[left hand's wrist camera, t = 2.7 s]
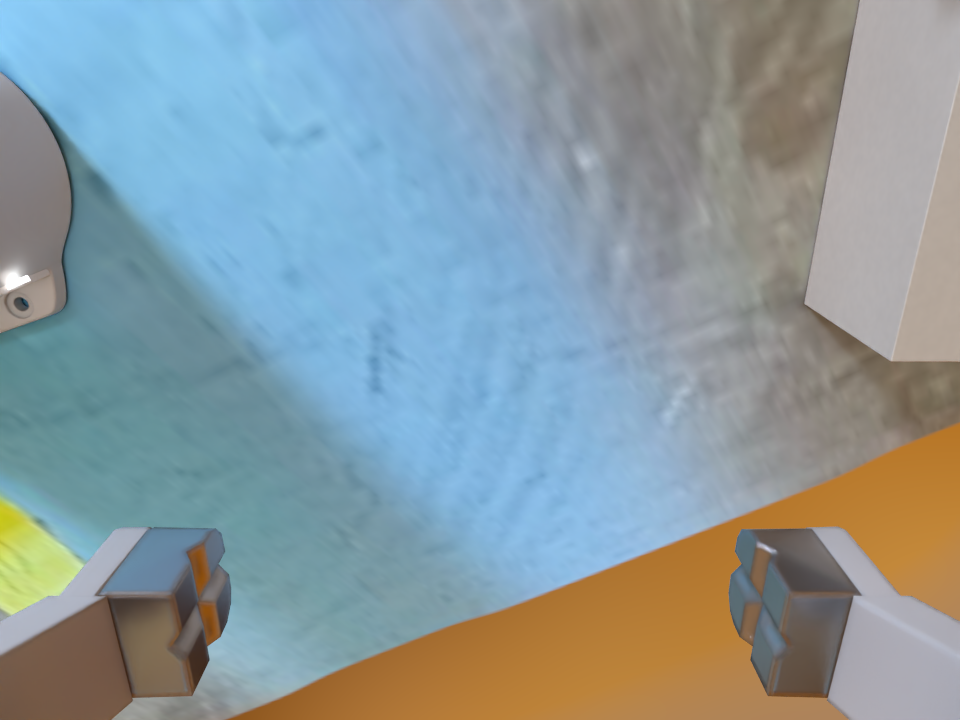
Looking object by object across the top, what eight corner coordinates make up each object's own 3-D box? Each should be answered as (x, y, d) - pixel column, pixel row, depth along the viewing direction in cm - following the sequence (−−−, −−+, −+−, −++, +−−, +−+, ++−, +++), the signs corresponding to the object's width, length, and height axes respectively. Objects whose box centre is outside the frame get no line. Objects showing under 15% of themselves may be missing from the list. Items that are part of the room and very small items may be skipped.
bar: (877, 304, 42) (984, 362, 33) (803, 303, 42) (890, 362, 33) (1000, -246, 32) (1200, -374, 23) (904, -246, 32) (1067, -374, 23)
